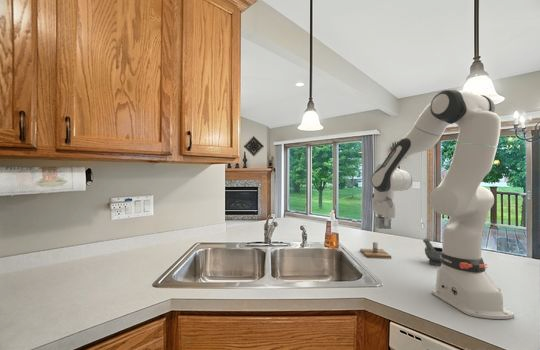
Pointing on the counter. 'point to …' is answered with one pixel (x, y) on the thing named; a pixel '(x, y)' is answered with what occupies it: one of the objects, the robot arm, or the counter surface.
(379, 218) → the square sleeve
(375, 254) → the post block
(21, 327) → the counter surface
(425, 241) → the mortar and pestle
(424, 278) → the counter surface
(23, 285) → the counter surface
